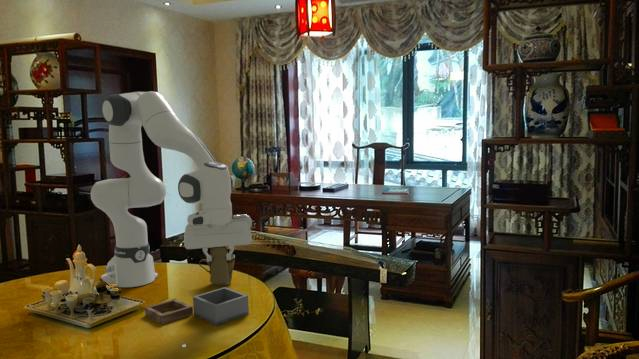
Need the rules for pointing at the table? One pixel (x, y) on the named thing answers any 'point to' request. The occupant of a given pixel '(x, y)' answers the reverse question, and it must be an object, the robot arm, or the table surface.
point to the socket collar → (181, 312)
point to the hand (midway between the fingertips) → (219, 260)
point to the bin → (220, 305)
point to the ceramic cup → (230, 268)
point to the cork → (219, 265)
